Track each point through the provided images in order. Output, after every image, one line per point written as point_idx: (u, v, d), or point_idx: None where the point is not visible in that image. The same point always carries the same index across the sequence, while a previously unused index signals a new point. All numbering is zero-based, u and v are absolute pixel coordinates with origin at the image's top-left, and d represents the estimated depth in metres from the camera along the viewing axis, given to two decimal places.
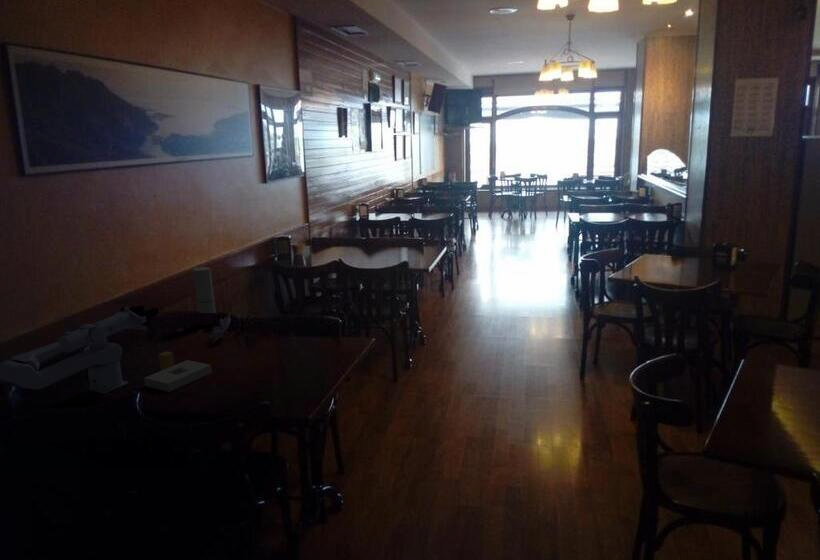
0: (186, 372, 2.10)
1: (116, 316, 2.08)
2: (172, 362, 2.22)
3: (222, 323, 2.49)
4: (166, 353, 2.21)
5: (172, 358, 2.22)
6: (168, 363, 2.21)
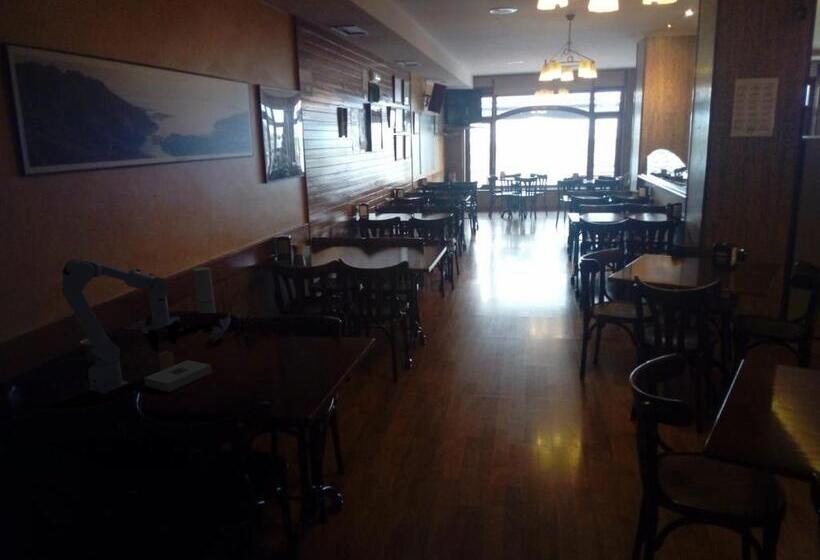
0: (186, 372, 2.10)
1: (162, 311, 2.16)
2: (172, 362, 2.22)
3: (222, 323, 2.49)
4: (166, 353, 2.21)
5: (172, 358, 2.22)
6: (168, 363, 2.21)
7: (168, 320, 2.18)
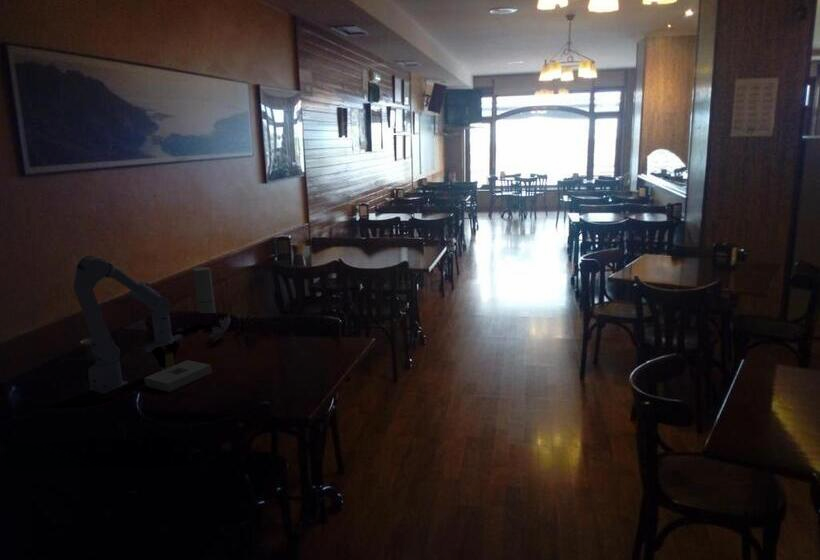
0: (186, 372, 2.10)
1: (164, 330, 2.17)
2: (172, 362, 2.22)
3: (222, 323, 2.49)
4: (166, 353, 2.21)
5: (172, 358, 2.22)
6: (168, 363, 2.21)
7: (171, 338, 2.20)
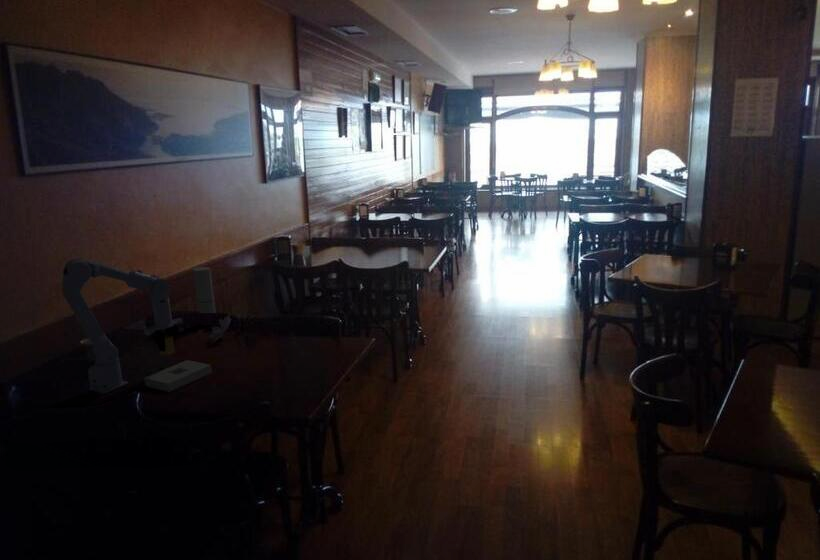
0: (186, 372, 2.10)
1: (164, 313, 2.13)
2: (172, 346, 2.18)
3: (222, 323, 2.49)
4: (166, 337, 2.18)
5: (172, 342, 2.18)
6: (168, 347, 2.17)
7: (171, 322, 2.16)
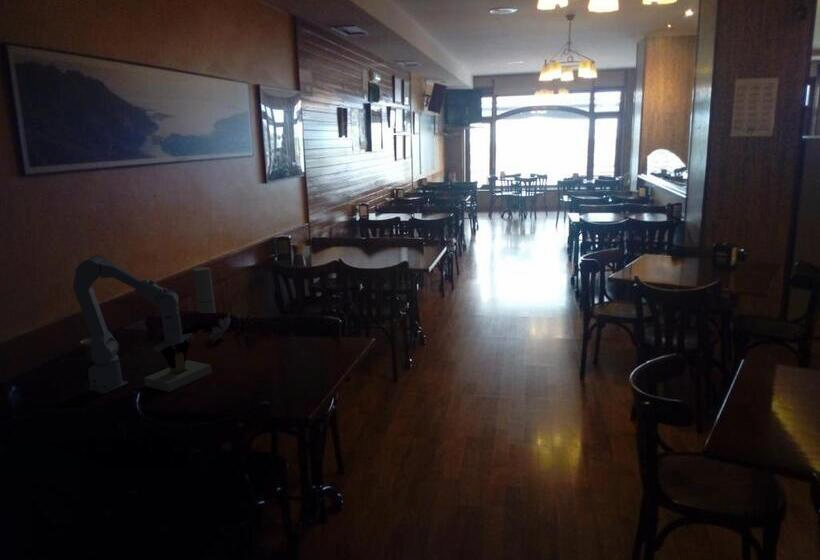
0: (186, 372, 2.10)
1: (175, 328, 2.06)
2: (182, 362, 2.11)
3: (221, 323, 2.49)
4: (176, 353, 2.11)
5: (182, 358, 2.11)
6: (178, 364, 2.10)
7: (181, 337, 2.09)
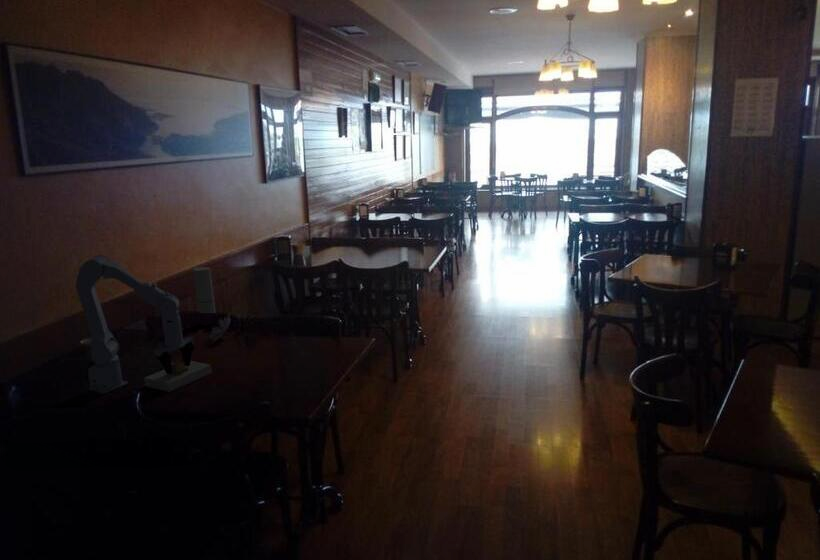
0: (186, 372, 2.10)
1: (175, 332, 2.07)
2: None
3: (221, 323, 2.49)
4: (177, 362, 2.11)
5: (183, 368, 2.12)
6: (179, 373, 2.11)
7: (182, 342, 2.09)
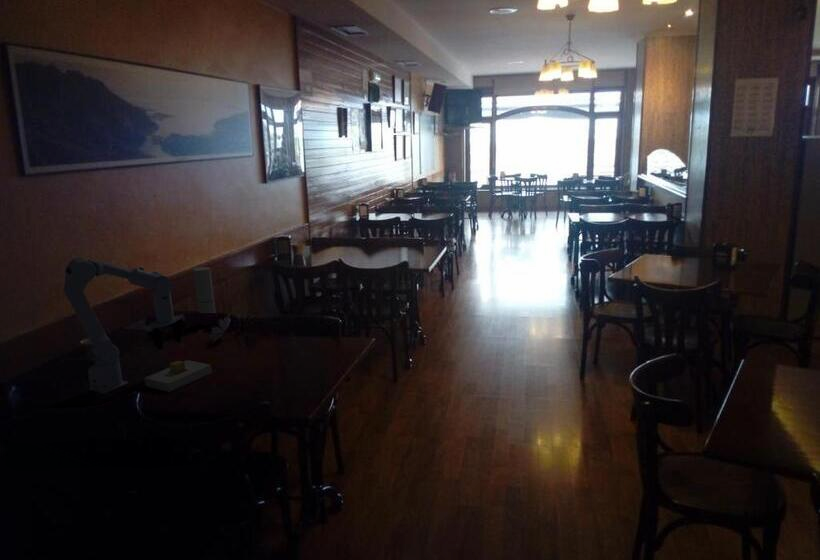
0: (186, 372, 2.10)
1: (166, 309, 2.15)
2: None
3: (221, 323, 2.49)
4: (177, 362, 2.11)
5: (183, 368, 2.12)
6: (179, 373, 2.11)
7: (172, 318, 2.18)
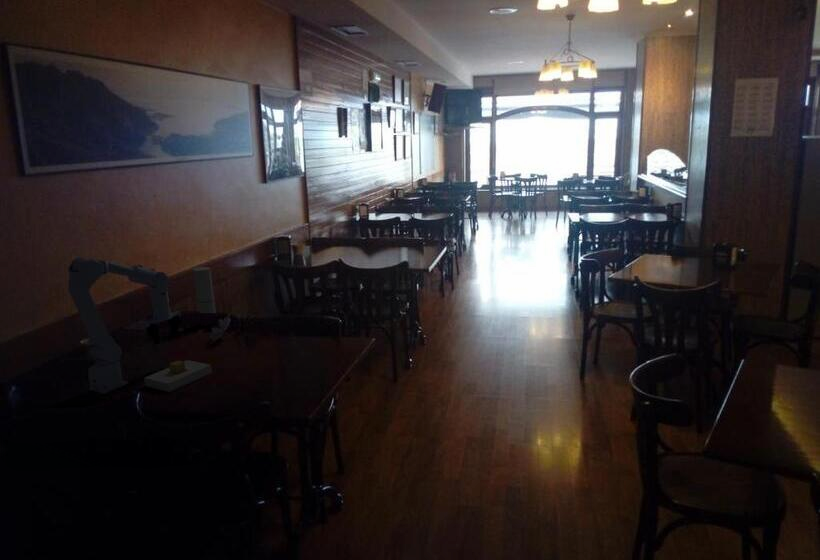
0: (186, 372, 2.10)
1: (163, 305, 2.19)
2: None
3: (221, 324, 2.49)
4: (177, 362, 2.11)
5: (183, 368, 2.12)
6: (179, 373, 2.11)
7: (169, 314, 2.22)
